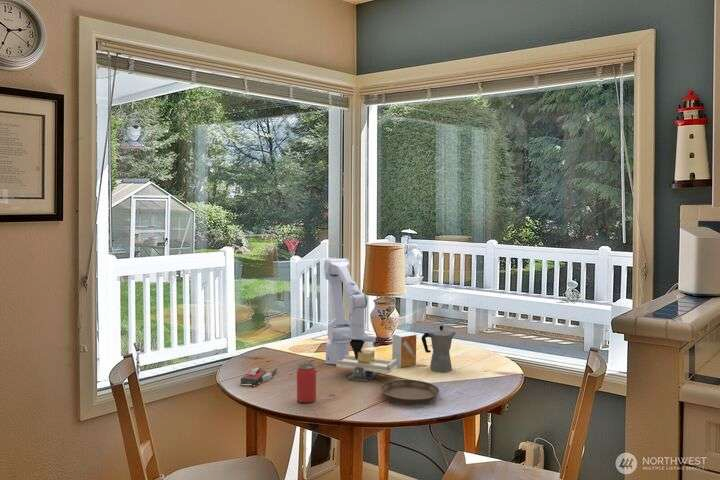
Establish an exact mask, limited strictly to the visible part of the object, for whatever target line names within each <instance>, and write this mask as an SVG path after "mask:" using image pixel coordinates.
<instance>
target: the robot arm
mask: <svg viewBox="0 0 720 480" xmlns="http://www.w3.org/2000/svg"><path fill="white" fill-rule="evenodd" d="M323 263H324V265H323V271H324V272H323V273H324V277H325V278H324V279H325V280H327V281H328V284H329V291H330V299H331V300H330V301H331V308H332V316H333V318H332V319H331V321H330V322H329V323H328V324H327V337H328V341H327V342H326V345H325V362H324V364H329V365H336V361H337V360H341V361H342V360H343V359H345V355H349V356H350V347H351V348H352V351H353V354H354V356H355V359H358V352H359V351H361V350H362V349H363V346H364V345H365V342H368V343H369V342H370V343H376V336H373V335H367V334H366V332H365V331H366V330H365V324H366V323H365V317H366V315H365V314H366V313H365V312H366V311H365V310H366V308H367V306H368V297H367V295H366V293H364V292H362V291H361V290H360V288H359V286H358V284H357V282H356V281H354V280H353V279H352V277H351V274H350V267H351V263H350V260H349V259H348V258H347V257H345V258H331V259H330V258H326V259H325V261H324V262H323ZM341 282H342V283H343V286H342V283H341ZM342 288H343V289H342ZM343 291H344V293H345V296H346V298H347V307H348V313H349V319H347V318H346V316H345V309H344V307H345V306H344V299H343Z"/></svg>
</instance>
